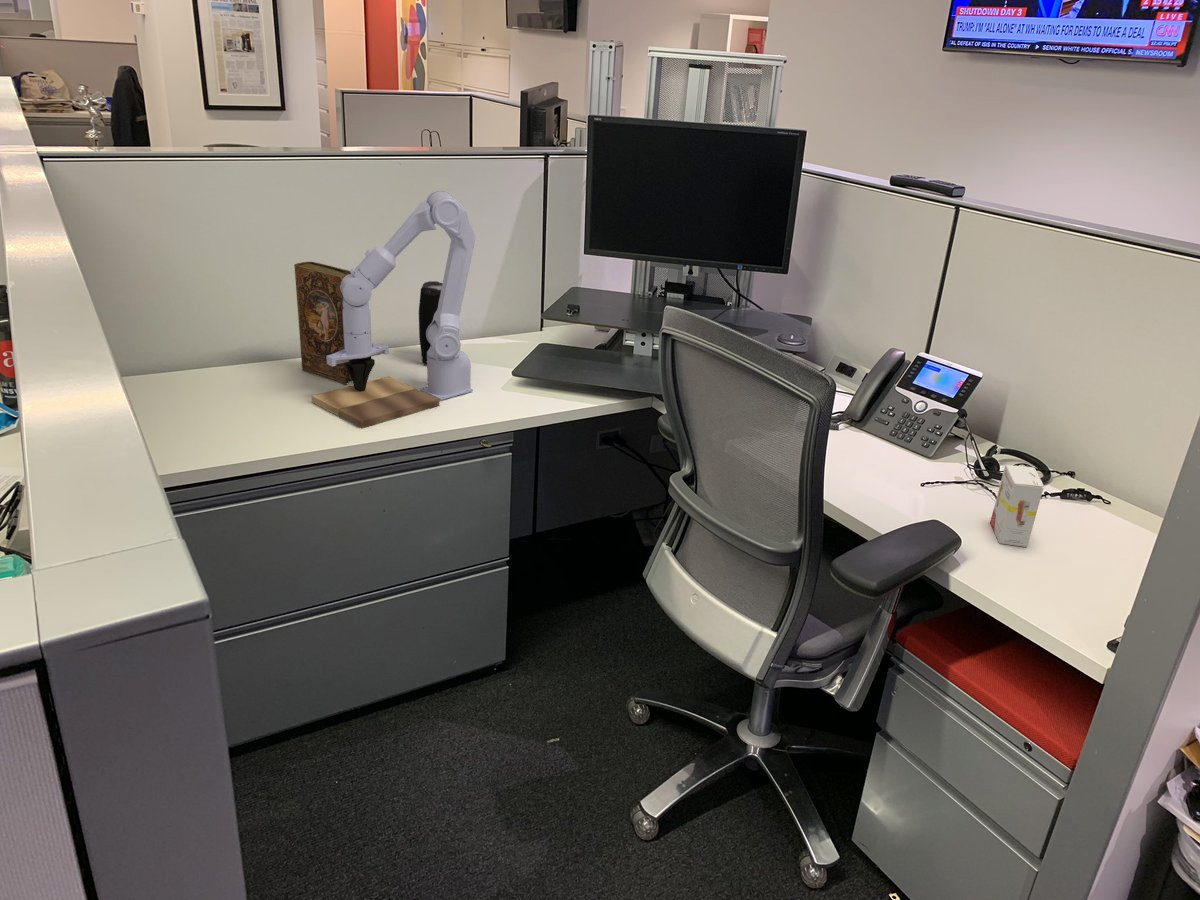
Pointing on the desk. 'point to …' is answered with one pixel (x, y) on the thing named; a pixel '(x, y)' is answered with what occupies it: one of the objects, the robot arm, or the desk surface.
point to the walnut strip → (388, 408)
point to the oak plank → (359, 394)
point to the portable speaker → (427, 312)
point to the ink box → (1016, 505)
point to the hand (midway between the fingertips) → (360, 390)
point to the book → (321, 318)
